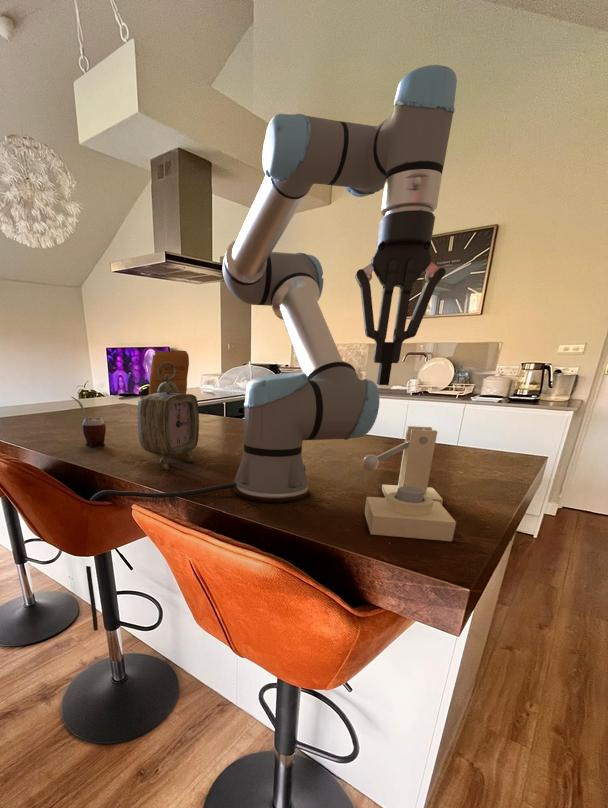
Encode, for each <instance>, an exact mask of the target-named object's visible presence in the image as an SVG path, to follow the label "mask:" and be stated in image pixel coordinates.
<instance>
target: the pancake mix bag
mask: <svg viewBox="0 0 608 808" xmlns="http://www.w3.org/2000/svg"><path fill="white" fill-rule="evenodd" d="M164 362H170V363H172V364H173V365H174V366H175V368H176V376H175V378H174V379H172V380H170V382H171V383H174V384H175V385H176V386H177V387H178V390H179V391H178V392H170V393H177V394H187V390H188V374H189V368H190V358H189V353H188V352H187V350H181V349H180V350H179V349H178V350H177V349H176V350H175V349H173V350H155V351H154V354H152V360H151V367H150V375H149V385H148V395H150V394H155V393H166V392H158V391H157V390H158V387H159V385H160V384H161V383H164V382H166V381H163V380H162V379H160V377H159V375H158V368H159V366H160V365H161V364H162V363H164ZM167 374H168V375H169V376H170V377H172V376H173V375H174V369H173V367H172V366H170V365H165V366H163V367H162V368H161V369H160V375H161V376H162V377H164V378H165V375H167Z"/></svg>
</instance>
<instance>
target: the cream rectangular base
mask: <svg viewBox="0 0 608 808" xmlns="http://www.w3.org/2000/svg"><path fill="white" fill-rule="evenodd" d="M396 496H397V492H391V493H389V494H387V495H386V498H385V497H380V496H379V497H378V496H366V499H365V505H364V506H365V507H364V516H365V519H366V520H365V521H366V523H367V527H368V530H369V533H370V535H375V536H386V537H398V538H410V539H422V540H433V541H444V542H453V539H454V534H455V530H456V526H457V521H456V520H455V519H454V517H452V515H451V514H450V513H449V512H448V511H447V509H446V508H445V507H444V506H443V504H442V505H441V503H440V502H436V501H433V500H432V499H431V498H430V497H427V496H425V495H424V497H423V502H419V503H413V502H405V501H401V500H398V499H396Z"/></svg>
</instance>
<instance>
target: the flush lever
mask: <svg viewBox="0 0 608 808" xmlns="http://www.w3.org/2000/svg"><path fill="white" fill-rule="evenodd" d="M421 430H426V429H424V428H423V429H421ZM409 441H410V440H408V441H406V442H405V441H404V442H402V443H401V444H399V445H396V446H394V447H392V448H391V449H389V450H387V451H385V452H382V453H380V454H379V455H375V454H367V455H366V456H364V458H363V459H362V466H363V468H364V469H365V470H367V471H375V470H377V469H378V468H379V466H380V462H382V461H384V460H386V459H388V458H390V457H392V456H394V455H396V454H398V453H400V452H403V450H404V449H406V448H408V447H409Z"/></svg>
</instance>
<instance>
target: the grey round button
mask: <svg viewBox="0 0 608 808" xmlns="http://www.w3.org/2000/svg"><path fill="white" fill-rule="evenodd" d="M423 497H424V490H422V489H419V488H415V487H399V488H398V490H397V496H396V499H398V500H401V501H405V502H413V503H419V502H423Z"/></svg>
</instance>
